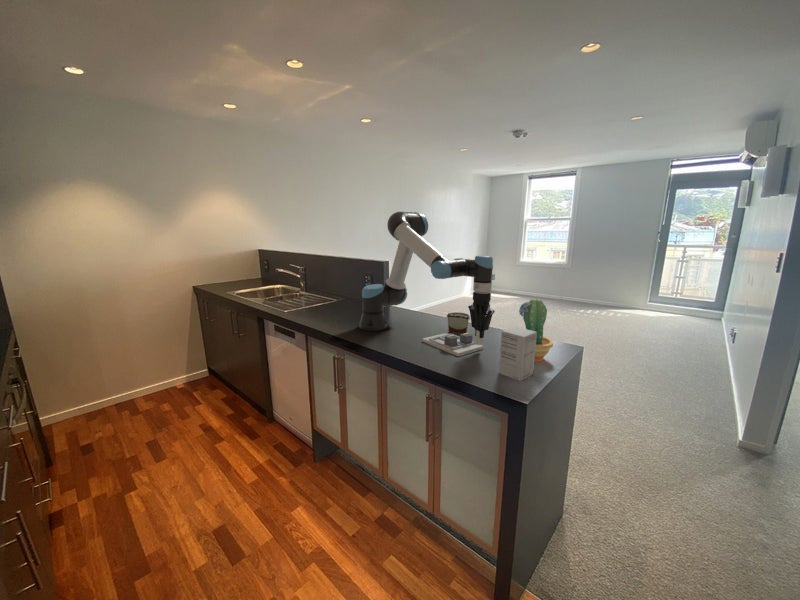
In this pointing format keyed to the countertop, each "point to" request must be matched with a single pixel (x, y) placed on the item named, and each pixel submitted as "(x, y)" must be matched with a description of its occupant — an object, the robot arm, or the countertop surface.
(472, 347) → the switch board
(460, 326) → the food container
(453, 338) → the tab
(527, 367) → the supplement box
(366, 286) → the robot arm
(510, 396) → the countertop surface
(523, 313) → the potted cactus
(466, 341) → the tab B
